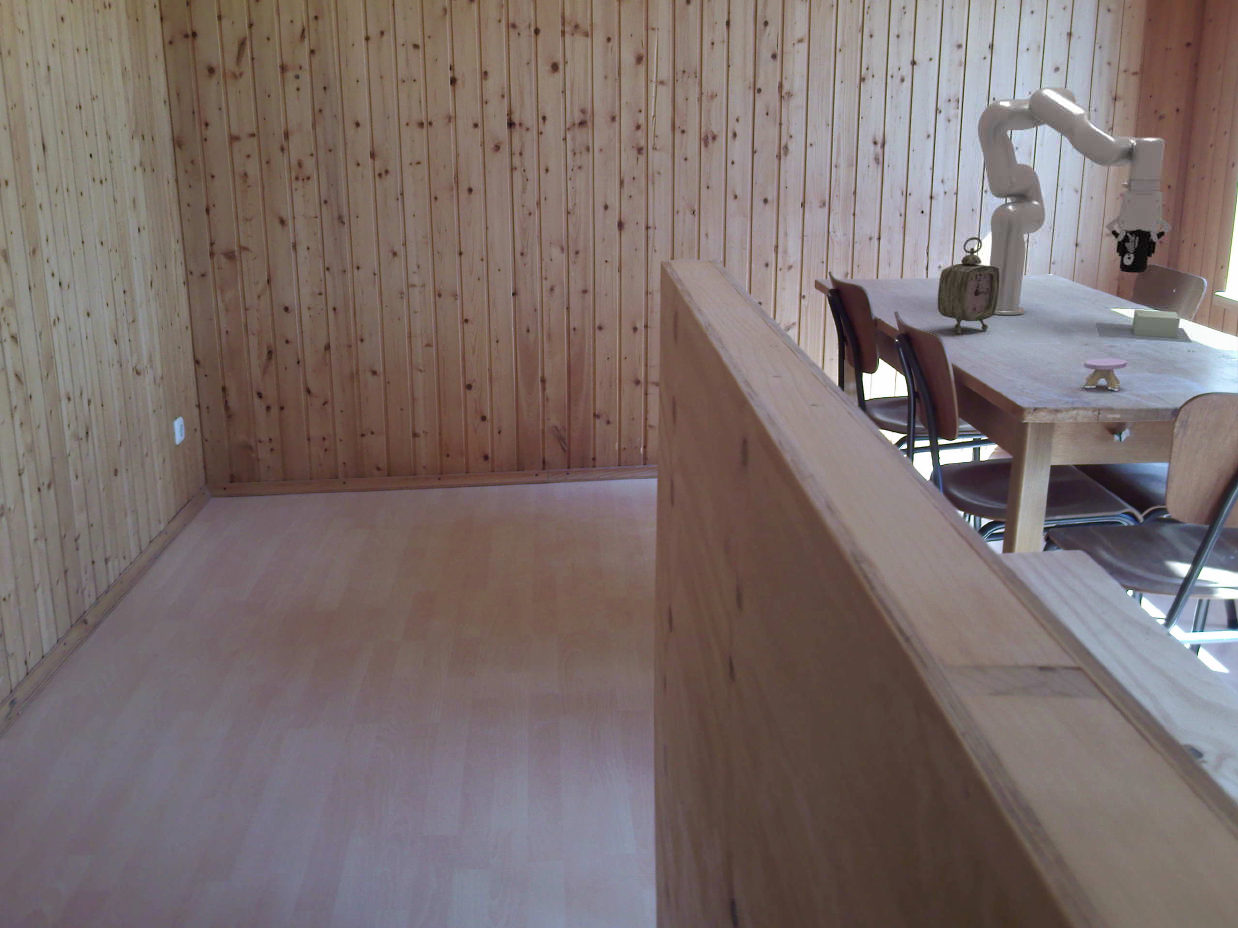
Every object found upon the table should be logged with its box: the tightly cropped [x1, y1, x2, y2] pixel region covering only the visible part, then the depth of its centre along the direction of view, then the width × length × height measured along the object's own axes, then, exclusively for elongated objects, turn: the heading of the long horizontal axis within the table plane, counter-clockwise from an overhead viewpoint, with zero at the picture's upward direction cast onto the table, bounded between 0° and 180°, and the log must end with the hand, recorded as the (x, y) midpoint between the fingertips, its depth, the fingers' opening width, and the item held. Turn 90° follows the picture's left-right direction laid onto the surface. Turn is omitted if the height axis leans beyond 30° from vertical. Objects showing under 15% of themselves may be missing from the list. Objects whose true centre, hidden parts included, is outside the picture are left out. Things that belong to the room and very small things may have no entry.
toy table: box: [1083, 357, 1128, 390], centre depth 244 cm, size 10×9×6 cm
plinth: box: [1132, 309, 1181, 338], centre depth 297 cm, size 10×10×5 cm
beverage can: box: [1119, 229, 1151, 274], centre depth 297 cm, size 7×7×12 cm
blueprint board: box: [1095, 322, 1193, 343], centre depth 298 cm, size 22×20×1 cm
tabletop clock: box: [937, 236, 999, 335], centre depth 300 cm, size 14×9×25 cm, turn 123°
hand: (1134, 255), depth 298 cm, fingers closed on beverage can, 6 cm apart
